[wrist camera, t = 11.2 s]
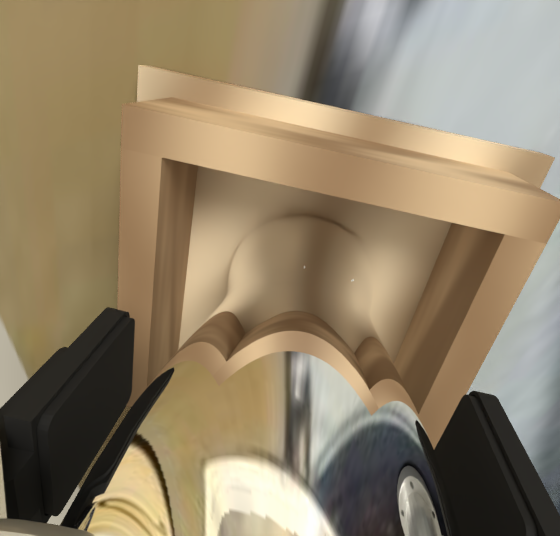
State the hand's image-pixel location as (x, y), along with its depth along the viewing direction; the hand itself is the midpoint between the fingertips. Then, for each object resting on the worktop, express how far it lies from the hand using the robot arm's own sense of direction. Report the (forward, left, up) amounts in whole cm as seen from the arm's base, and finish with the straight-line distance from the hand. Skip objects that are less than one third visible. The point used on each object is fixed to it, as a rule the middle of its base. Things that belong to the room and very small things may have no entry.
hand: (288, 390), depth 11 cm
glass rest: (0, 0, -8) cm, 8 cm away
